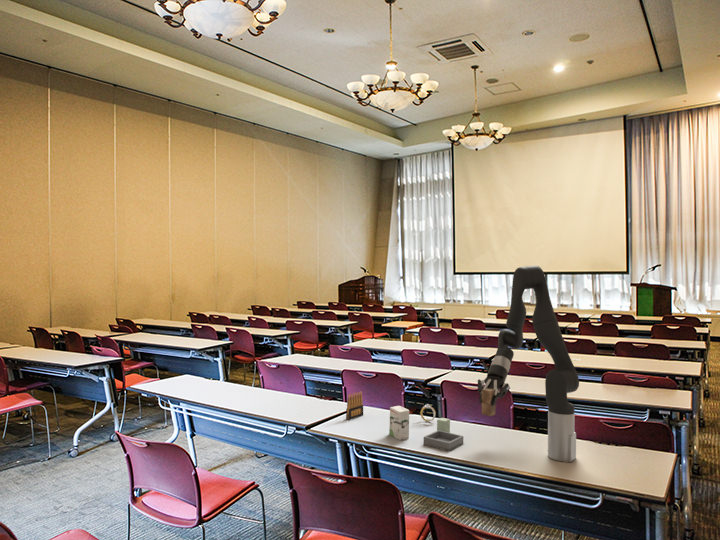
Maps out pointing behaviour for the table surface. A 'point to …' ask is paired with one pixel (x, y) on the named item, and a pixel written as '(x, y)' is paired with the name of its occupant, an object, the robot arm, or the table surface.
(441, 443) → the desk tray
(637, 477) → the table surface
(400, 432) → the ink box
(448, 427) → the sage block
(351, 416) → the ammunition clip
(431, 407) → the ring
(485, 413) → the walnut block
